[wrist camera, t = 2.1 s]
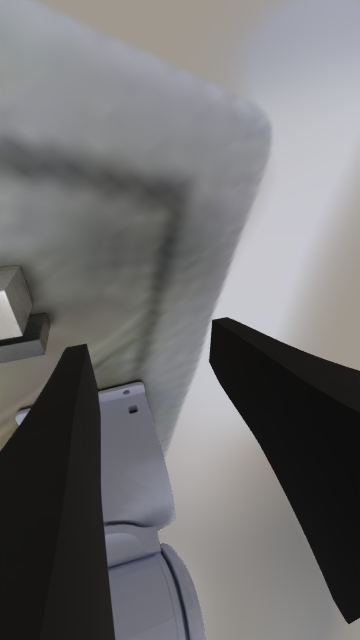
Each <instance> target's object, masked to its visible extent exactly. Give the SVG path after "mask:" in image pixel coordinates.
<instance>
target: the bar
mask: <svg viewBox="0 0 360 640" xmlns="http://www.w3.org/2000/svg"><path fill="white" fill-rule="evenodd" d="M32 306H33V302H32V299H31V296H30V293H29V291H28V288H27V285H26V282H25V279H24V276H23V274H22V271H21V268H20V266H11V267H1V268H0V340H1V339H7V338H13V337H19V336H23V333H24V330H25V327H26V324H27V321H28V318H29V315H30V312H31V309H32Z"/></svg>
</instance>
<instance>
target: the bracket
mask: <svg viewBox="0 0 360 640" xmlns="http://www.w3.org/2000/svg"><path fill="white" fill-rule="evenodd" d="M49 330H50V325H49V321H48V318H47V315H46V313H42V314H35V315H29V318H28V321H27V324H26V327H25V330H24V333H23V336H19V337H13V338H7V339H1V340H0V363H4V362H9V361H14V360H20V359H25V358H30V357H35V356H40V355H45V351H46V346H47V340H48V335H49Z"/></svg>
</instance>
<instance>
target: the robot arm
mask: <svg viewBox="0 0 360 640" xmlns="http://www.w3.org/2000/svg"><path fill="white" fill-rule="evenodd" d="M209 362H210V364H211V367H212V369H213V371H214V373H215V375H216V377H217V379H218V381H219V383H220V384H221V386H222V388H223V389H224V391H225V392H226V394H227V395H228V397H229V398H230V400H231V401H232V403H233V404H234V406H235V407H236V409H237V410H238V412H239V413H240V415H241V416H242V418H243V419H244V421H245V422H246V424H247V425H248V427H249V428H250V430H251V431H252V433H253V435H254V436H255V438H256V439H257V441H258V443H259V444H260V446H261V448H262V450H263V452H264V454H265V455H266V457H267V459H268V461H269V463H270V465H271V467H272V469H273V470H274V472H275V474H276V476H277V478H278V480H279V482H280V484H281V486H282V488H283V490H284V492H285V494H286V496H287V498H288V500H289V502H290V504H291V506H292V508H293V510H294V512H295V515H296V517H297V519H298V521H299V523H300V525H301V527H302V529H303V531H304V534H305V536H306V538H307V540H308V542H309V544H310V547H311V549H312V551H313V553H314V556H315V558H316V560H317V563H318V565H319V567H320V569H321V571H322V574H323V576H324V579H325V581H326V583H327V586H328V588H329V590H330V593H331V595H332V597H333V600H334V601H335V603H336V605H337V607H338V608H339V610H340V612H341V613H342V615H343V617H344V619H345V620H346V622H347V623H348V624H350V623H352V622H353V621H355V620H357V619H359V618H360V371H358V370H355V369H352V368H349V367H346V366H343V365H340V364H337V363H334V362H331V361H328V360H325V359H322V358H319V357H317V356H314V355H311V354H309V353H306V352H304V351H301V350H299V349H297V348H294V347H292V346H289V345H287V344H285V343H283V342H280V341H278V340H276V339H274V338H272V337H270V336H267V335H265V334H263V333H261V332H259V331H257V330H255V329H252V328H250V327H248V326H246V325H244V324H242V323H240V322H237V321H235V320H233V319H230V318H228V317H226V318H220V319H215V320H212V332H211V344H210V358H209ZM125 390H128V391H125ZM15 420H16V422H17V424H18V425H19V427H18V428H17V429H16V431H15V432H14V434H13V435H12V436H11V438H10V439H9V440H8V442H7V443H6V444H5V446H4V447H3V448H2V450H1V451H0V640H206V639H205V631H204V624H203V619H202V614H201V609H200V605H199V601H198V597H197V593H196V590H195V587H194V584H193V581H192V579H191V576H190V574H189V572H188V570H187V568H186V566H185V564H184V562H183V561H182V560H181V558H180V557H179V556H178V555H177V553H176V552H175V550H174V549H173V548H172V547H171V546H169V545H168V544H164V543H162V544H160V543H159V538H158V534H157V531H159V530H160V529H162V528H164V527H166V526H167V525H169V524H171V523H172V522H174V521H175V509H174V502H173V496H172V490H171V486H170V481H169V477H168V473H167V468H166V464H165V460H164V456H163V453H162V449H161V446H160V442H159V438H158V432H157V428H156V424H155V421H154V420H153V418H152V415H151V412H150V408H149V405H148V401H147V398H146V394H145V388H144V384H143V383H142V382H136V383H132V384H128V385H123V386H119V387H115V388H111V389H107V390H103V391H99V392H98V388H97V384H96V380H95V376H94V372H93V368H92V363H91V359H90V355H89V351H88V347H87V344H83V345H77V346H72V347H67V348H66V349H65V350H64V352H63V354H62V356H61V358H60V360H59V362H58V364H57V366H56V368H55V369H54V371H53V373H52V375H51V377H50V378H49V380H48V382H47V383H46V385H45V387H44V388H43V390H42V392H41V393H40V395H39V397H38V398H37V400H36V401H35V403H34V404H33V406H32V407H31V408H29V409H25V410H21V411H19V412H17V414H16V417H15Z"/></svg>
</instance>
